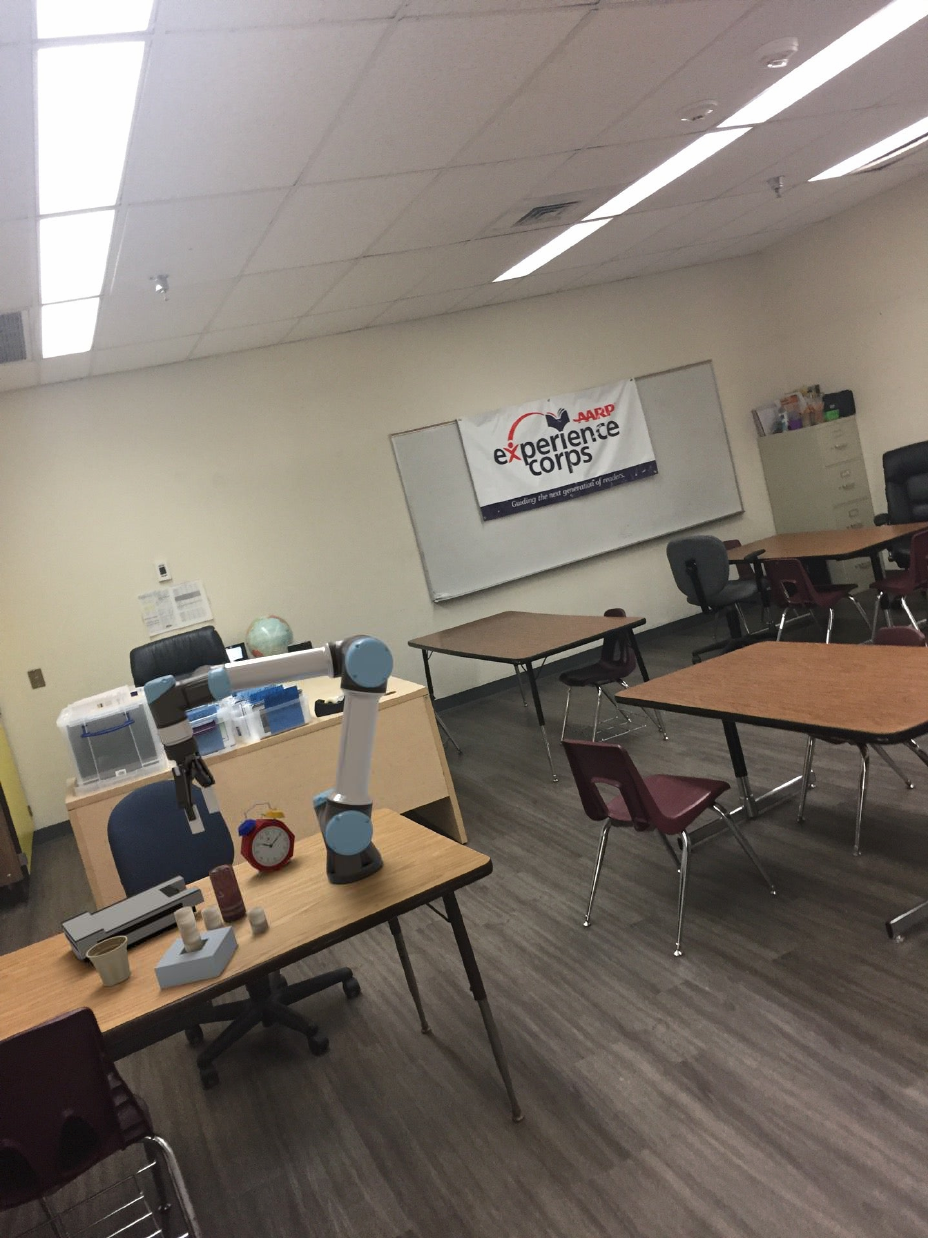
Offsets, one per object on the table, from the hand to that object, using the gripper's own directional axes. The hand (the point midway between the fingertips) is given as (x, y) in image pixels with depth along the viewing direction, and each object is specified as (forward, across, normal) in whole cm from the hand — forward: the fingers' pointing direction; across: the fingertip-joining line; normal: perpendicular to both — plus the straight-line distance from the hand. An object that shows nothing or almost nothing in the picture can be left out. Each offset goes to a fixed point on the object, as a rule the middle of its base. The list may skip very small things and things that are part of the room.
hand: (207, 821), depth 223 cm
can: (+29, -10, -5) cm, 32 cm away
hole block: (+29, +14, -7) cm, 33 cm away
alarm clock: (+30, -40, -2) cm, 50 cm away
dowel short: (+29, +1, +4) cm, 30 cm away
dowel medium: (+29, +1, -7) cm, 30 cm away
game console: (+29, -17, -34) cm, 48 cm away
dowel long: (+29, +14, -7) cm, 33 cm away
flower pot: (+28, +10, -29) cm, 42 cm away
